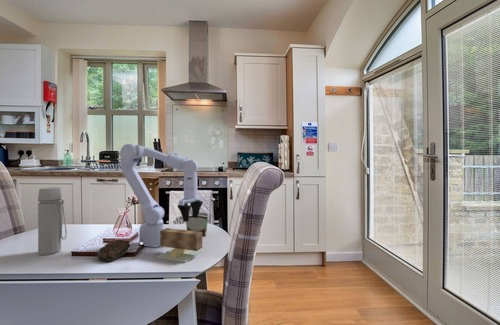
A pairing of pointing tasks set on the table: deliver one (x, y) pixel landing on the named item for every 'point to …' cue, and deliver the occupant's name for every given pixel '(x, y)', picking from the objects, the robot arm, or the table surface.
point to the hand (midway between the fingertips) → (190, 219)
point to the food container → (198, 223)
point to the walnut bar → (181, 239)
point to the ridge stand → (179, 255)
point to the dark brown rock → (113, 250)
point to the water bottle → (50, 221)
